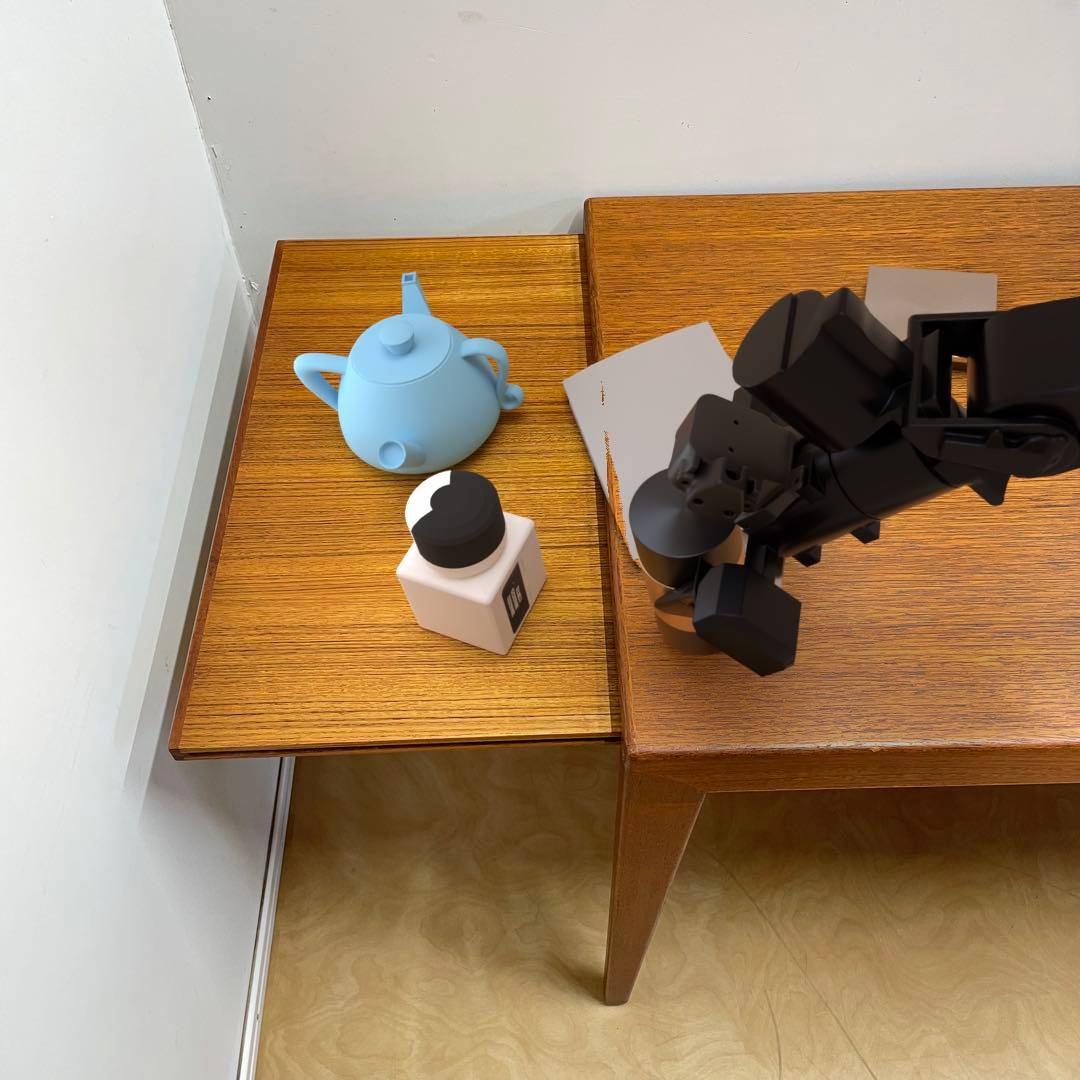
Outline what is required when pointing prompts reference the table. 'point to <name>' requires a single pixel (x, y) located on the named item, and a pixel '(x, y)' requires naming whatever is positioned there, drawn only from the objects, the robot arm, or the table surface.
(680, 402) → the book
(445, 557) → the container
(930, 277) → the platform
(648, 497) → the can
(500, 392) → the teapot
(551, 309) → the table surface
